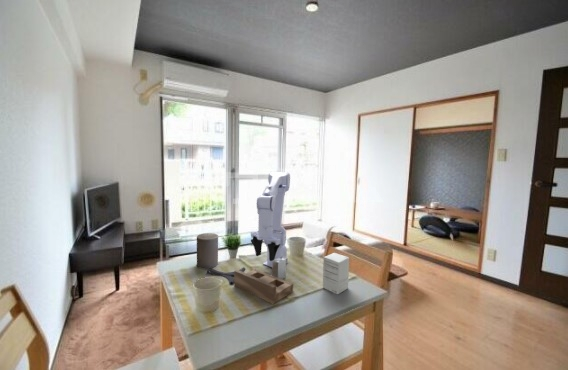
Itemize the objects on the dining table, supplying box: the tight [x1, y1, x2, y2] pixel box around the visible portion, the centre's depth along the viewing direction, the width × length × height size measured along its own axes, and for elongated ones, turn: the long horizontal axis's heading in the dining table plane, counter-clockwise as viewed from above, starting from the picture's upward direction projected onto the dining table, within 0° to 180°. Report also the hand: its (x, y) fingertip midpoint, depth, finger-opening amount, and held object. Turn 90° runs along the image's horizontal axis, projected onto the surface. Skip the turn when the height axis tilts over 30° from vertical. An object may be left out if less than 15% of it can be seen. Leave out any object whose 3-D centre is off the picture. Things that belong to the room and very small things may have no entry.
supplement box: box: [322, 252, 350, 295], centre depth 103 cm, size 7×7×13 cm
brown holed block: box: [233, 268, 294, 305], centre depth 101 cm, size 12×20×6 cm, turn 52°
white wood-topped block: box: [271, 257, 289, 280], centre depth 111 cm, size 6×3×8 cm, turn 142°
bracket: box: [206, 266, 246, 285], centre depth 113 cm, size 14×15×3 cm
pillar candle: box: [196, 232, 219, 270], centre depth 122 cm, size 10×10×15 cm
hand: (265, 257), depth 108 cm, fingers open, 7 cm apart
